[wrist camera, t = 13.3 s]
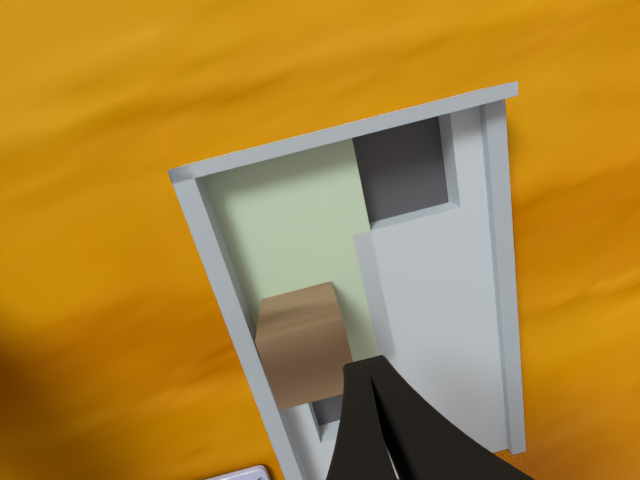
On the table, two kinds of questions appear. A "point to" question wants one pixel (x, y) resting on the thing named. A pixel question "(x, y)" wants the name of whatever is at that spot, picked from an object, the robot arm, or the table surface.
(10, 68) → the table surface
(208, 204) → the tray
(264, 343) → the walnut block
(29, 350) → the table surface
